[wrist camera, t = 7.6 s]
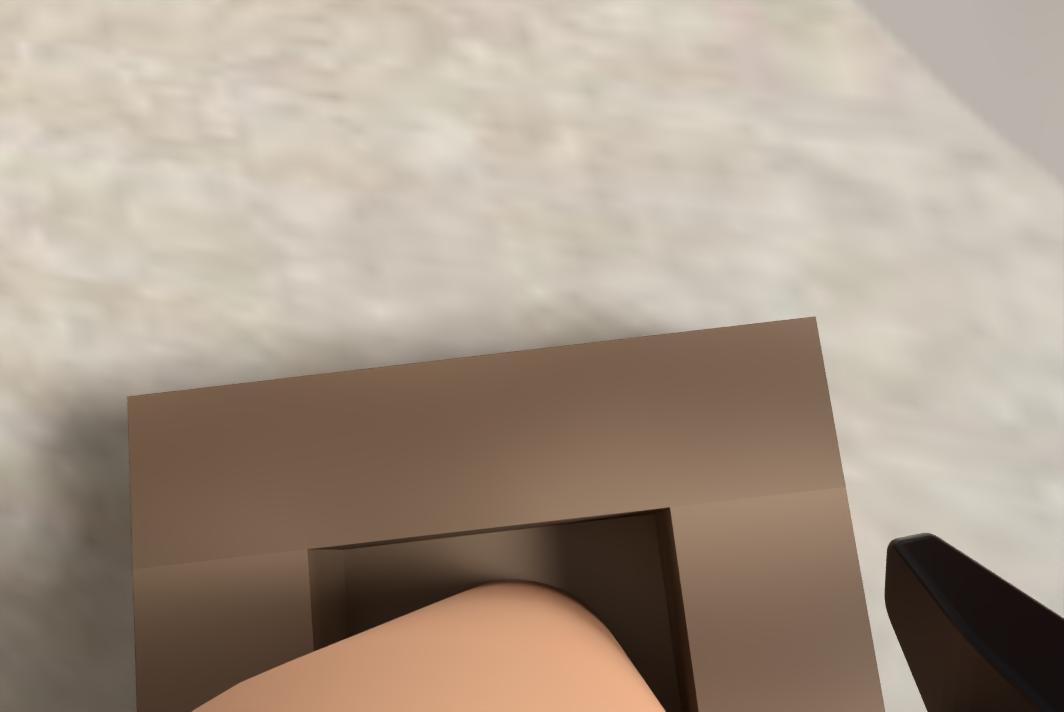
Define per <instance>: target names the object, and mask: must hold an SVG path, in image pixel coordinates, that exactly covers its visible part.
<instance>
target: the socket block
mask: <svg viewBox="0 0 1064 712" xmlns="http://www.w3.org/2000/svg"><path fill="white" fill-rule="evenodd" d="M127 399H128V432H129V465H130V498H131V531H132V564H133V596H134V629H135V662H136V695H137V712H192V711H193V710H195V709H196V708H198V707H200V706H201V705H203V704H205V703H206V702H208V701H210V700H211V699H213V698H215V697H217V696H218V695H220V694H222V693H223V692H225V691H227V690H228V689H230V688H232V687H234V686H235V685H237V684H239V683H240V682H243V681H245V680H247V679H250V678H252V677H254V676H257V675H259V674H261V673H264V672H266V671H268V670H271V669H273V668H275V667H278V666H280V665H282V664H285V663H287V662H289V661H292V660H294V659H297V658H299V657H302V656H304V655H307V654H309V653H312V652H314V651H317V650H319V649H322V648H324V647H327V646H329V645H332V644H334V643H337V642H339V641H342V640H344V639H347V638H349V637H352V636H354V635H357V634H359V633H362V632H364V631H367V630H369V629H372V628H374V627H377V626H379V625H382V624H384V623H387V622H389V621H391V620H394V619H396V618H399V617H401V616H404V615H406V614H409V613H411V612H414V611H416V610H419V609H421V608H424V607H426V606H429V605H431V604H434V603H436V602H439V601H441V600H444V599H446V598H449V597H451V596H454V595H456V594H459V593H461V592H464V591H466V590H469V589H471V588H474V587H476V586H479V585H482V584H486V583H489V582H493V581H500V580H512V579H523V580H530V581H537V582H541V583H545V584H548V585H552V586H554V587H557V588H559V589H561V590H564V591H566V592H568V593H569V594H571V595H573V596H574V597H576V598H578V599H579V600H580V601H582V602H583V603H584V604H586V605H587V606H588V607H589V608H591V609H592V610H593V611H594V612H595V613H596V614H597V615H598V616H599V617H600V619H601V620H602V621H603V622H604V624H605V625H606V626H607V628H608V629H609V630H610V632H611V633H612V634H613V636H614V637H615V639H616V640H617V642H618V643H619V645H620V646H621V647H622V649H623V650H624V652H625V653H626V655H627V656H628V658H629V659H630V661H631V662H632V663H633V665H634V666H635V668H636V669H637V671H638V672H639V674H640V675H641V676H642V678H643V679H644V681H645V682H646V684H647V685H648V687H649V688H650V690H651V691H652V692H653V694H654V695H655V697H656V698H657V700H658V701H659V703H660V704H661V705H662V707H663V708H664V710H665V711H666V712H885V708H884V702H883V696H882V691H881V685H880V679H879V674H878V668H877V662H876V657H875V651H874V645H873V640H872V634H871V628H870V623H869V617H868V611H867V606H866V600H865V594H864V589H863V583H862V577H861V572H860V566H859V560H858V555H857V549H856V543H855V538H854V532H853V526H852V521H851V515H850V509H849V504H848V498H847V492H846V487H845V481H844V475H843V470H842V464H841V458H840V453H839V447H838V441H837V436H836V430H835V424H834V419H833V413H832V407H831V402H830V396H829V390H828V385H827V379H826V373H825V368H824V362H823V356H822V351H821V345H820V339H819V334H818V328H817V322H816V317H807V318H798V319H790V320H781V321H773V322H764V323H756V324H747V325H738V326H730V327H721V328H713V329H704V330H695V331H687V332H678V333H670V334H661V335H653V336H644V337H635V338H627V339H618V340H610V341H601V342H593V343H584V344H575V345H567V346H558V347H550V348H541V349H532V350H524V351H515V352H507V353H498V354H490V355H481V356H472V357H464V358H455V359H447V360H438V361H429V362H421V363H412V364H404V365H395V366H387V367H378V368H369V369H361V370H352V371H344V372H335V373H327V374H318V375H309V376H301V377H292V378H284V379H275V380H266V381H258V382H249V383H241V384H232V385H224V386H215V387H206V388H198V389H189V390H181V391H172V392H164V393H155V394H146V395H138V396H129V397H127Z"/></svg>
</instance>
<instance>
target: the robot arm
mask: <svg viewBox="0 0 1064 712" xmlns="http://www.w3.org/2000/svg"><path fill="white" fill-rule="evenodd" d="M885 604H886V609H887V613H888V616H889V619H890V621H891V624H892V626H893V629H894V631H895V634H896V636H897V638H898V641H899V643H900V646H901V648H902V651H903V653H904V656H905V658H906V660H907V663H908V665H909V668H910V670H911V673H912V675H913V677H914V680H915V682H916V685H917V687H918V690H919V692H920V694H921V697H922V699H923V702H924V704H925V707H926V709H927V711H928V712H1064V618H1063V617H1061V616H1059V615H1058V614H1056V613H1055V612H1053V611H1052V610H1050V609H1049V608H1047V607H1046V606H1044V605H1043V604H1041V603H1039V602H1038V601H1036V600H1035V599H1033V598H1032V597H1030V596H1029V595H1027V594H1026V593H1024V592H1022V591H1021V590H1019V589H1018V588H1016V587H1015V586H1013V585H1012V584H1010V583H1009V582H1007V581H1005V580H1004V579H1002V578H1001V577H999V576H998V575H996V574H995V573H993V572H992V571H990V570H989V569H987V568H985V567H984V566H982V565H981V564H979V563H978V562H976V561H975V560H973V559H972V558H970V557H968V556H967V555H965V554H964V553H962V552H961V551H959V550H958V549H956V548H955V547H953V546H951V545H950V544H948V543H947V542H945V541H944V540H942V539H941V538H939V537H937V536H936V535H933V534H930V533H921V534H916V535H911V536H906V537H902V538H897V539H894V540H892V541H891V542H890V543H889V545H888V548H887V558H886V577H885Z"/></svg>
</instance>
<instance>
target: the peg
mask: <svg viewBox="0 0 1064 712" xmlns="http://www.w3.org/2000/svg"><path fill="white" fill-rule="evenodd" d="M192 712H666V711H665V710H664V708H663V707H662V705H661V704H660V703H659V701H658V700H657V698H656V697H655V695H654V694H653V692H652V691H651V690H650V688H649V687H648V685H647V684H646V682H645V681H644V679H643V678H642V676H641V675H640V674H639V672H638V671H637V669H636V668H635V666H634V665H633V663H632V662H631V661H630V659H629V658H628V656H627V655H626V653H625V652H624V650H623V649H622V647H621V646H620V645H619V643H618V642H617V640H616V639H615V637H614V636H613V634H612V633H611V632H610V630H609V629H608V628H607V626H606V625H605V624H604V622H603V621H602V620H601V619H600V617H599V616H598V615H597V614H596V613H595V612H594V611H593V610H592V609H591V608H589V607H588V606H587V605H586V604H584V603H583V602H582V601H580V600H579V599H578V598H576V597H574V596H573V595H571V594H569V593H568V592H566V591H564V590H561V589H559V588H557V587H554V586H552V585H548V584H545V583H541V582H537V581H530V580H523V579H512V580H500V581H493V582H489V583H486V584H482V585H479V586H476V587H474V588H471V589H469V590H466V591H464V592H461V593H459V594H456V595H454V596H451V597H449V598H446V599H444V600H441V601H439V602H436V603H434V604H431V605H429V606H426V607H424V608H421V609H419V610H416V611H414V612H411V613H409V614H406V615H404V616H401V617H399V618H396V619H394V620H391V621H389V622H387V623H384V624H382V625H379V626H377V627H374V628H372V629H369V630H367V631H364V632H362V633H359V634H357V635H354V636H352V637H349V638H347V639H344V640H342V641H339V642H337V643H334V644H332V645H329V646H327V647H324V648H322V649H319V650H317V651H314V652H312V653H309V654H307V655H304V656H302V657H299V658H297V659H294V660H292V661H289V662H287V663H285V664H282V665H280V666H278V667H275V668H273V669H271V670H268V671H266V672H264V673H261V674H259V675H257V676H254V677H252V678H250V679H247V680H245V681H243V682H240V683H239V684H237V685H235V686H234V687H232V688H230V689H228V690H227V691H225V692H223V693H222V694H220V695H218V696H217V697H215V698H213V699H211V700H210V701H208V702H206V703H205V704H203V705H201V706H200V707H198V708H196V709H195V710H193V711H192Z"/></svg>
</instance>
